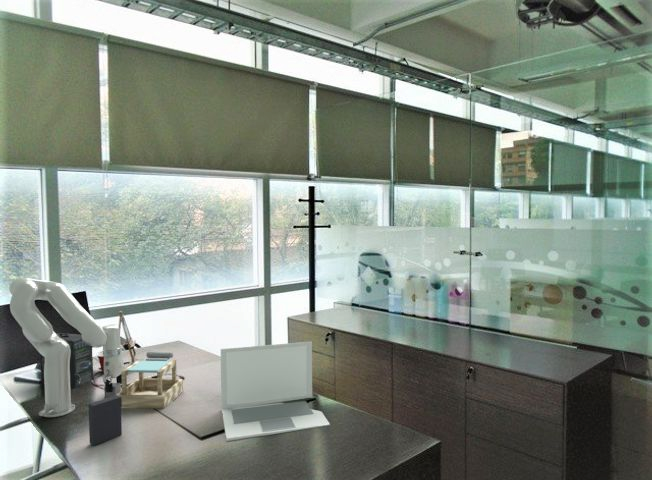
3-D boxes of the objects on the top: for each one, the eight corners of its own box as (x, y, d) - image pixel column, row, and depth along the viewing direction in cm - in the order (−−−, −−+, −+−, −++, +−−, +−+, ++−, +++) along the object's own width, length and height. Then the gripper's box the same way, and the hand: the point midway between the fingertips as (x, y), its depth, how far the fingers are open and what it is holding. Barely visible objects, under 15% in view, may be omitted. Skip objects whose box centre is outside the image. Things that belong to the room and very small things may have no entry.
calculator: (116, 432, 181) (115, 394, 180) (122, 435, 178) (121, 396, 178) (88, 443, 172) (87, 403, 172) (94, 446, 170) (93, 406, 169)
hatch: (158, 372, 205) (157, 363, 205) (127, 372, 206) (127, 363, 206) (175, 359, 224) (175, 351, 224) (147, 359, 225) (146, 350, 225)
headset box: (40, 384, 234) (38, 333, 233) (60, 377, 245) (59, 328, 244) (75, 389, 226) (73, 337, 225) (94, 381, 238) (92, 331, 237)
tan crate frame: (164, 410, 201) (163, 373, 201) (114, 409, 203) (113, 372, 202) (183, 391, 223) (182, 358, 223) (138, 390, 225) (137, 357, 224)
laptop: (226, 443, 172) (225, 369, 171) (221, 411, 200) (220, 348, 199) (330, 428, 183) (329, 359, 182) (311, 401, 211) (311, 340, 210)
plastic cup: (92, 374, 248) (91, 352, 248) (111, 369, 257) (110, 347, 257) (104, 378, 242) (103, 355, 242) (123, 372, 251) (122, 350, 251)
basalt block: (115, 399, 214) (114, 386, 214) (104, 399, 214) (104, 386, 214) (120, 395, 219) (120, 383, 219) (110, 395, 219) (110, 382, 219)
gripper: (110, 357, 207) (112, 395, 208) (129, 346, 224) (131, 380, 225) (93, 358, 207) (96, 395, 209) (114, 346, 225) (116, 380, 226)
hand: (114, 387), depth 217 cm, fingers open, 9 cm apart
